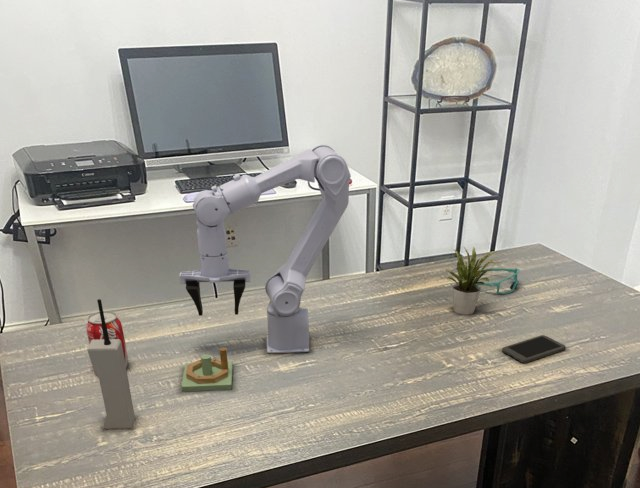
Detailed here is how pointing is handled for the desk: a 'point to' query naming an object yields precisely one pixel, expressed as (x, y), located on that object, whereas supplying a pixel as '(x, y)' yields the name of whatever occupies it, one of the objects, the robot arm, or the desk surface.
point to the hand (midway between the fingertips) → (218, 313)
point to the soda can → (112, 326)
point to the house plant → (468, 282)
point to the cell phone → (533, 348)
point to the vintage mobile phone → (112, 378)
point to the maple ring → (215, 362)
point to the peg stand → (207, 371)
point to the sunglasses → (504, 279)
